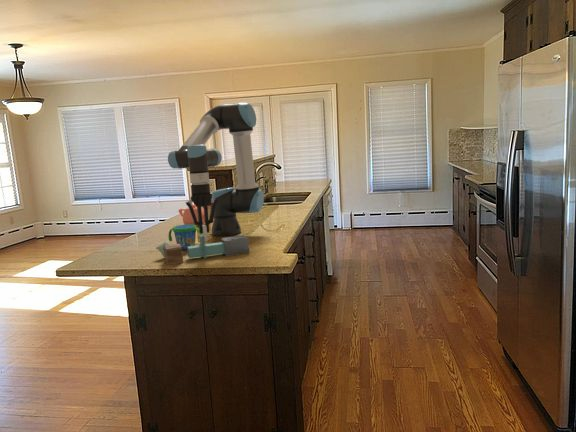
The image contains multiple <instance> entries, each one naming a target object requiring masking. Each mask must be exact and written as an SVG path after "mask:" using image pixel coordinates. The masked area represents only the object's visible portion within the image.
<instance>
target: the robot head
mask: <svg viewBox="0 0 576 432" xmlns="http://www.w3.org/2000/svg"><path fill="white" fill-rule="evenodd" d="M165 245H172V244H171V243H170V242H168V241H164V242H162V243H161V244H160V245H158V246H156V247H155V249H157V250H158V251H159V252H160V253H161V255H162V256H163V257H164V258H166V256H165V247H164V246H165Z"/></svg>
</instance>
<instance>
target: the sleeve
mask: <svg viewBox="0 0 576 432" xmlns="http://www.w3.org/2000/svg"><path fill="white" fill-rule="evenodd" d="M220 240H221V241H220V242H224V243H225V253H223V254H222V255H224V256H225V257H229V256H236V255H237V254H238V255H243V254H242V253H245V254H249V253H250V244H249V243H250V242H249V237H247V236H246V235H235V236H227V237H221V238H220ZM238 255H237V256H238Z"/></svg>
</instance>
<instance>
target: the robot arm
mask: <svg viewBox="0 0 576 432" xmlns="http://www.w3.org/2000/svg"><path fill="white" fill-rule="evenodd" d="M256 125H257V115H256V111H255V109H254V107H253V106H252V104H250V103H249V102H239V103H238V102H237V103H226V104H219V105H217V106H214V107H212V108H211V109H210V110H208V111H207V112H206V113H205V114H204V115H203V116H202V117H201V118H200V120H199V124H198V125H197V127H196V128H195V129H194V130H193V131H192V132H191V134H190V135H189V136H188V137H187V139H186V140H185V141H184V142H183V144H182V145H181V147H179V149H178V150H173V151H172V150H171V151H170V152H169V153H168V156H167V162H168V165H169V167H170V168H172V169H179V170H180V169H189V170H188V171H189V181H190V184H191V185H190V192H191V196H190V199H189V200H188V201H185V205H186V206H187V208H188V207H189V210H190V213H191V215H192V218H193V221H194V224H196V225H199V226H198V228H199V231H200V233H202V236H204V239H205V242H208V233H210V230H211V235H213V236H217V237H218V236H219V237H220V236H221V237H223V236H234V235H237V234H240V233H241V232H242V228H241V225H240V223H239V220H238V217H237V214H255V213H259V212H261V210H262V208H263V205H264V202H265V201H264V200H265V194H264V191H263V189H261V188H260V187H259V184H258V183H257V182H256V177H255V167H254V166H255V165H254V158H253V147H252V137H251V136H252V135H251V134H252V133H253V131H254V128H255V127H256ZM227 129H228V132H229V134H230V135H231V136H232V139H233V142H232V143H233V150H234V158H235V167H236V168H235V169H236V176H237V185H236V186H235V187H226V188H219V189H216V190H213V191H212V193H211V185H210V183H209V182H210V175H209V168H212V167H213V168H215V167H217V166H218V165H220V164H221V163H222V154H221V151H220V150H218V149H216V148H207V146H206V143H207V142H208V141H209V139H210V138H211V137H212V136H213V134H217V132H219V131H220V130H227ZM210 203H211V206H210V213H209V209H208V206H209V204H210ZM192 205H196V206H195V207H197V212H198V221H197V219H196V216H195V213H194V210H193V207H192ZM201 207H202V208H203V210H204V219H205V223H202V212H201ZM210 224H212V225H211V229H210Z"/></svg>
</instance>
